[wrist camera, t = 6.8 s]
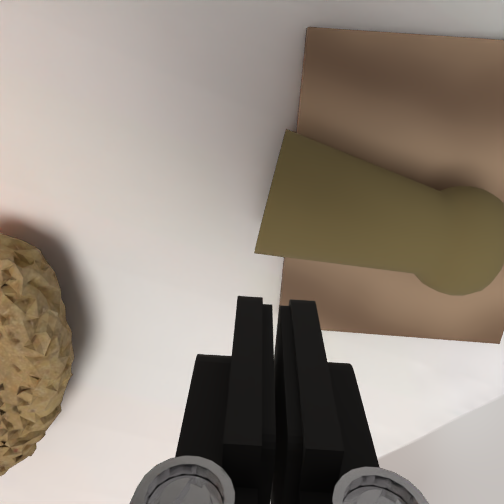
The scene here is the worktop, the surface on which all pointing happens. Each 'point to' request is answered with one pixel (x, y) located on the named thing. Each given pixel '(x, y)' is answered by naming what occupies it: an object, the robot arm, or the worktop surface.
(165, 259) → the worktop surface
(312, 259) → the cork
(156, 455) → the worktop surface
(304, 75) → the walnut board
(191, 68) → the worktop surface
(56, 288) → the sponge
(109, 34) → the worktop surface
